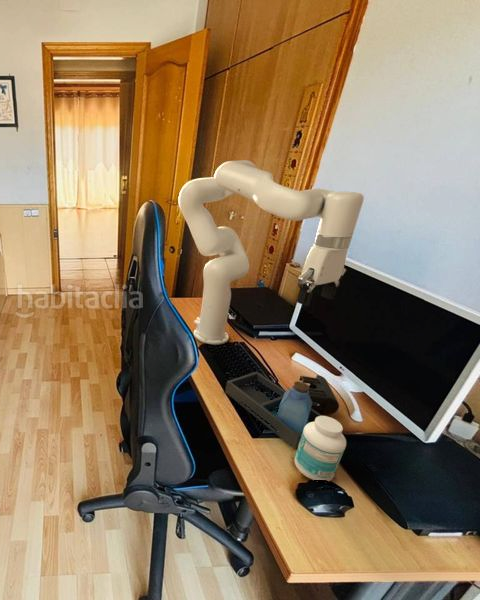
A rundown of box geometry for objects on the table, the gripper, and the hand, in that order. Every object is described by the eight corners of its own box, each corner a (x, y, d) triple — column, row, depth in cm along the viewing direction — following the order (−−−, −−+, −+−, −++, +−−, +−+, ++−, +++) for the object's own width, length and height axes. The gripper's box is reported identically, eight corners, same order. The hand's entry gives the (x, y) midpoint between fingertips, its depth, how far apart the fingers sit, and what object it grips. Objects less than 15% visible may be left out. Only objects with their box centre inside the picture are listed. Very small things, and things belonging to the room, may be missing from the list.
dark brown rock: (335, 419, 86) (342, 399, 84) (304, 413, 89) (310, 394, 86) (323, 395, 95) (329, 376, 92) (295, 390, 97) (300, 371, 94)
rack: (225, 392, 97) (227, 381, 96) (254, 382, 101) (256, 371, 100) (294, 449, 78) (298, 436, 77) (327, 434, 82) (332, 422, 80)
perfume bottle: (306, 421, 85) (318, 384, 80) (302, 435, 81) (314, 397, 76) (279, 410, 89) (289, 374, 84) (274, 424, 85) (284, 386, 80)
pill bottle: (305, 450, 78) (321, 406, 72) (340, 474, 72) (359, 428, 66) (286, 463, 75) (300, 418, 69) (320, 490, 69) (338, 443, 63)
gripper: (339, 235, 91) (322, 291, 98) (295, 242, 86) (280, 301, 93) (369, 240, 85) (349, 300, 92) (323, 249, 79) (305, 312, 86)
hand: (314, 300), depth 92 cm, fingers open, 9 cm apart
